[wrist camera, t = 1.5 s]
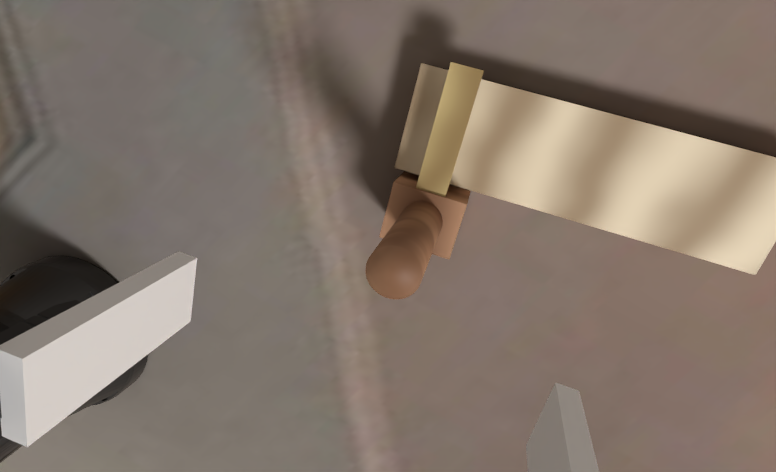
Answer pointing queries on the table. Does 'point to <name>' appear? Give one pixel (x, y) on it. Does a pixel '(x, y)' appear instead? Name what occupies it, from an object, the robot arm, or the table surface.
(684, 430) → the table surface
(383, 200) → the table surface
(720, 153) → the board
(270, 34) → the table surface
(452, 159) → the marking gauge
